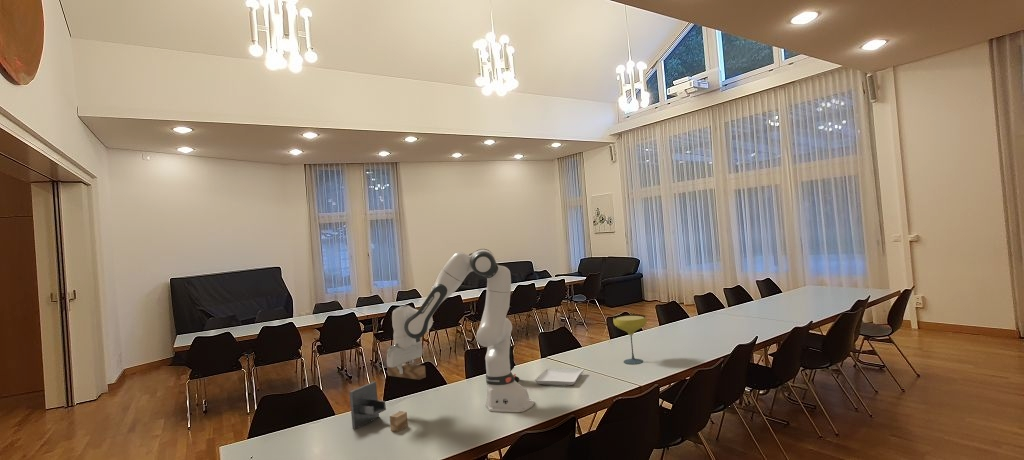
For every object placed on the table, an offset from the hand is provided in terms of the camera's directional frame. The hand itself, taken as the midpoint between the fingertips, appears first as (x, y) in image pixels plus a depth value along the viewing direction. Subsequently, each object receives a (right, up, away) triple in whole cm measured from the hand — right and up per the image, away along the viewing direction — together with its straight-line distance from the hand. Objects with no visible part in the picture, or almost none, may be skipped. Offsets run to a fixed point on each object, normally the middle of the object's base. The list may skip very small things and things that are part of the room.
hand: (406, 371), depth 219 cm
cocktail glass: (+116, -10, +51) cm, 127 cm away
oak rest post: (+1, -19, -16) cm, 25 cm away
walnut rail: (0, -2, 0) cm, 2 cm away
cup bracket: (-13, -20, -8) cm, 25 cm away
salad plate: (+73, -14, +30) cm, 80 cm away
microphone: (+45, -16, +35) cm, 60 cm away
